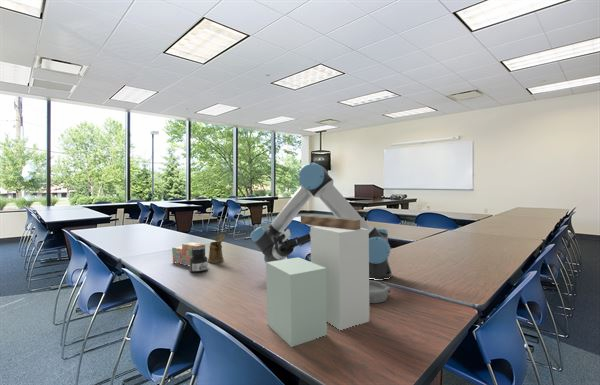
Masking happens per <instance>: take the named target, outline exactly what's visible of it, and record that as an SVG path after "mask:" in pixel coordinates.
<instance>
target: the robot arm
mask: <svg viewBox="0 0 600 385" xmlns="http://www.w3.org/2000/svg"><path fill="white" fill-rule="evenodd" d="M298 181H299V183H300V186H299V187H298V189H297V190H296V191H295V193H294V194H293V195H292V196H291V198H290V199H289V200H288V202H287V203H286V204H285V205H284V207H283V208H282V209H281V210H280V211H279V213H278V214H277V215H276V217H275V218H274V219H273V220H272V221H271V223H270V224H269V226H268V227H267V228H266V229H265V228H264V227H263V226H258V227H257V228H256V229H254V230H253V231H252V232H251V233H250V234H249V236H250V238H251V240H252V241H253V242H254V244H255V245H256V247H257V248H258V249H259V250H260V251H261V252H262V255H263V258H264V259H263V260H264V263H265V264H266V262H271V261H278V260H284V259H287V257H288V256H290V255H291V254H292V253H293V252H294V249H295V247H298V246H299V247H302V246H304V245H305V244H308V243H311V230H310V231H309V232H308V233H307V234H305V235H302V236H299V237H298V236H297V237H294V238H291V234H292V233H291V230H290V229H289V228H288V226H289V225H290V223H291V222H292V221H293V220H294V219H295V217H296V216H297V215H298V213H299V212H300V211H301V210H302V209H303V208H304V206H306V204H307V202H308V201H309V200H310V199H311V198H312V197H314V198H318V199H320V200H321V201H322V202H323V204H324V205H325V206H326V207H327V208H328V210H329V211H330V212H331V213H332V214H333V216H334V218H346V219H358V220H360V228H364V229H369V278H375V279H384V278H389V277H391V276H393V274H392V269H391V266H390V262H389V261H388V260H389V256H390V253H391V245H390V243H389V240H388V239H389V238H388V237H389V234H388V230H387V229H386V228H376V226H374V225H369V224H368V223H367V222H366V220H364V218H363V217H362V216H361V215H360V214H359V212H358V211H357V210H356V209H355V208H354V207H353V206H352V204H350V202H349V201H348V200H347V199H346V198H345V196H343V195H342V193H341V192H340V191H339V190H338V188H336V186H335V185H334V179H333V178H332V177H331V176H330V174H328V171H327V169H326V167H324V166H322V165H321V164H318V163H316V162H309V163H306V164H305V165H303V166H302V167H301V168H300V170H299V172H298ZM286 228H287V229H286ZM285 229H286V230H285ZM289 238H290V239H289ZM391 278H392V277H391Z"/></svg>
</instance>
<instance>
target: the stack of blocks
mask: <svg viewBox="0 0 600 385" xmlns="http://www.w3.org/2000/svg"><path fill="white" fill-rule="evenodd" d="M196 247H205V248H206V244H205V243H202V242H201V243H200V242H192V241H191V242H184V243H182V244H181V245H179V246H173V247H172V248H171V250H172V251H171V253H172V263H173V262H176V263H181V264H186V265H190V259H191V258H192V257H193V256H192V248H196ZM176 263H175V264H176Z"/></svg>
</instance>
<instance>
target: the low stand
mask: <svg viewBox="0 0 600 385" xmlns="http://www.w3.org/2000/svg"><path fill="white" fill-rule="evenodd" d="M265 264H266V265H265V267H266V268H265V269H266V272H265V274H266V276H265V277H266V324H267V326H268V327H269V328H271V330H273V332H275V333H276V335H278V337H280V339H282V340H283V341H284V342H285V343H287V344H288V345H289V346H290V348H293V347H296V346H299V345H301V344H305V343H308V342H312V341H314V340H317V339H320V338H319V337H321V338H323V337H322V336H324V337H326V336H325V335H327V336H328V323H327V296H326V268H325V267H322V266H320V265H317V264H314V263H312V262H311V261H309V260H307V259H304V258H301V257H292V258H284V260H278V261H271V262H266V263H265ZM316 338H317V339H316Z"/></svg>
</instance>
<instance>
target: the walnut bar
mask: <svg viewBox="0 0 600 385" xmlns="http://www.w3.org/2000/svg"><path fill="white" fill-rule="evenodd" d="M300 224H301V225H307V226H324V227H333V228H343V229H352V230H357V229H360V220H358V219H346V218H336V217H335V216H334V217H332V216H319V215H310V214H309V215H306V214H305V215H300Z"/></svg>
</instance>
